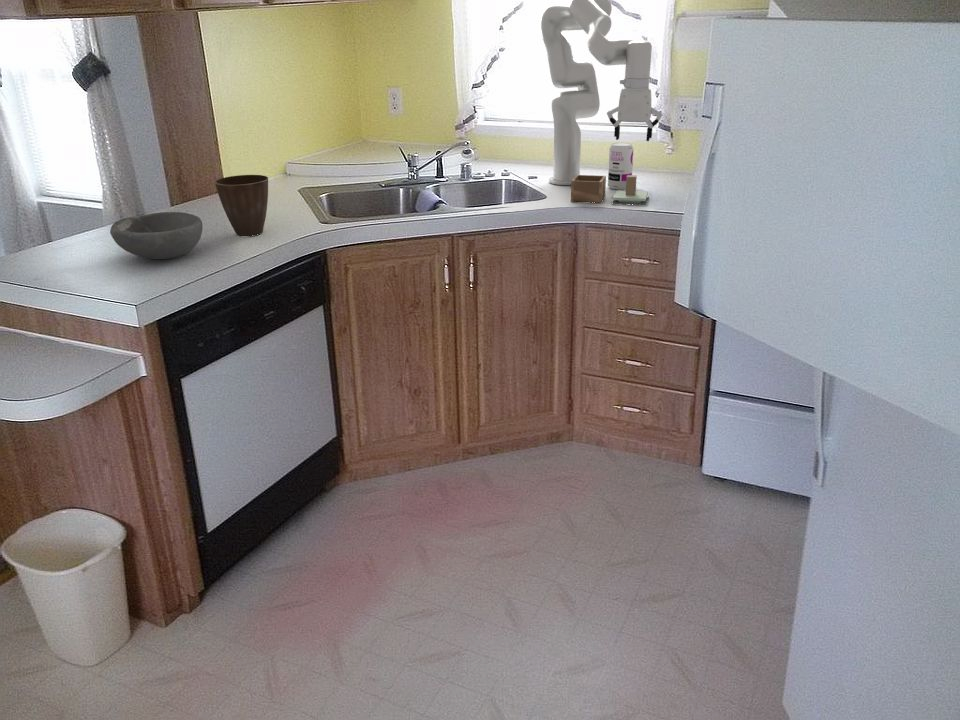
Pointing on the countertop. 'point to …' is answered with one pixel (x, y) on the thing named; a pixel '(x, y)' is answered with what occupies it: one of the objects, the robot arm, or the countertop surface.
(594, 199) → the tea box
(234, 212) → the plant pot
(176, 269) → the countertop surface
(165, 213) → the bowl
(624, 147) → the supplement can
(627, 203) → the coaster
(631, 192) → the lid
